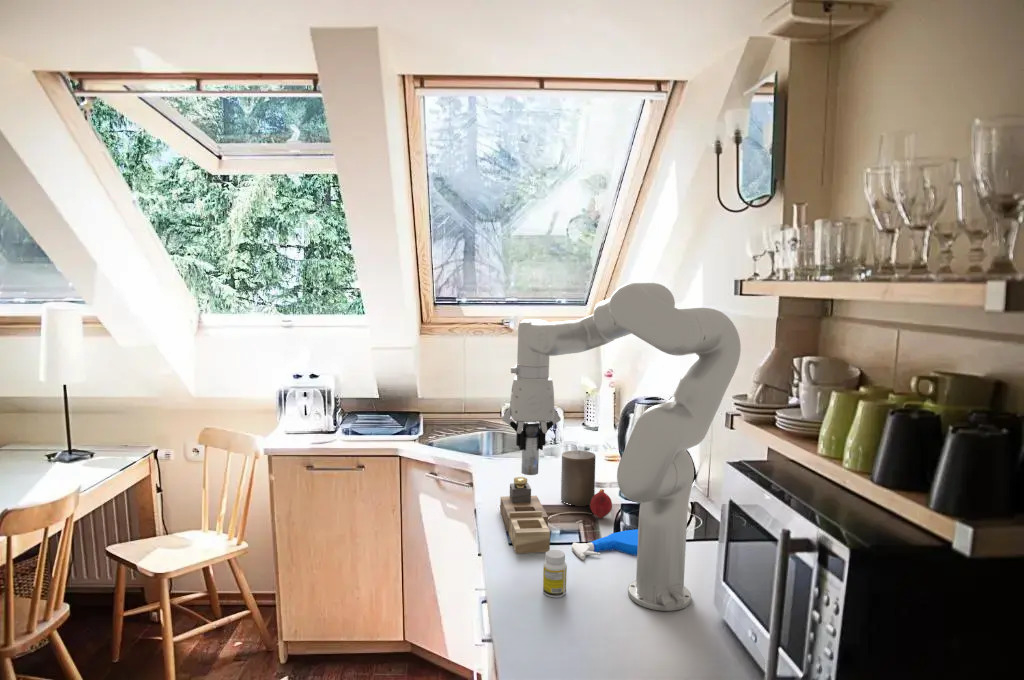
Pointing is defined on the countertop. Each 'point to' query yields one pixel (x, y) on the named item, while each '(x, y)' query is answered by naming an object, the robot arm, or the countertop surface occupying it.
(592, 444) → the countertop surface
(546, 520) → the socket block
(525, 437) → the capped metal cylinder
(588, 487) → the pillar candle
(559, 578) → the supplement bottle
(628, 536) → the spray bottle
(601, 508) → the onion
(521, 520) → the frame
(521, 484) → the round brass peg
